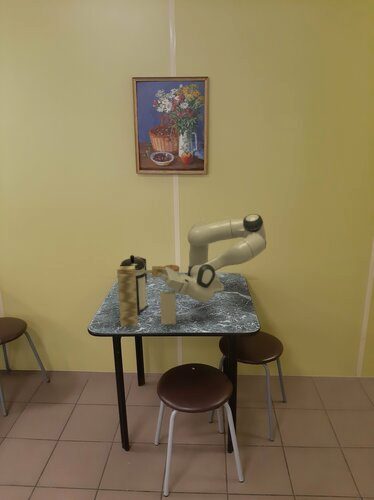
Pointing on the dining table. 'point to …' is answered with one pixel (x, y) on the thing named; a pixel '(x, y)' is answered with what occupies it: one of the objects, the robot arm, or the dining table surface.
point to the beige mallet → (154, 270)
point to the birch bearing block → (127, 295)
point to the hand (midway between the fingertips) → (157, 270)
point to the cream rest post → (168, 308)
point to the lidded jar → (173, 268)
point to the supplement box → (145, 266)
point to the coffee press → (138, 281)
